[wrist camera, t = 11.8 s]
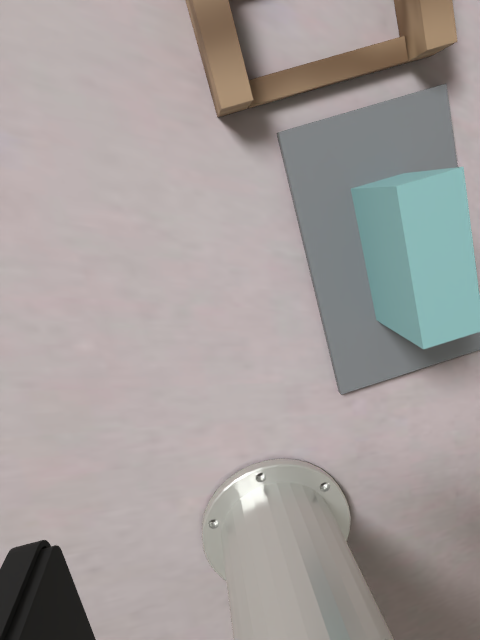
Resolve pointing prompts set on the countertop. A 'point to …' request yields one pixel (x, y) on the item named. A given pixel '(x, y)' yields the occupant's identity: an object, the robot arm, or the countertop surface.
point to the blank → (420, 255)
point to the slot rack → (240, 93)
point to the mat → (342, 229)
